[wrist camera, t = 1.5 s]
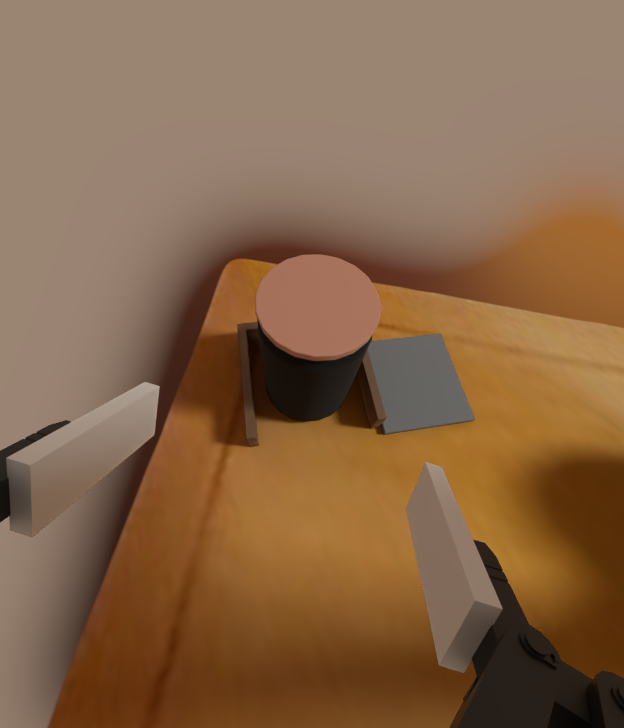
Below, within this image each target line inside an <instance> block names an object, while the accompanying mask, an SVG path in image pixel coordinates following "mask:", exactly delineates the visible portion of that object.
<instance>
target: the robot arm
mask: <svg viewBox="0 0 624 728" xmlns="http://www.w3.org/2000/svg"><path fill="white" fill-rule="evenodd" d="M159 387H160V386H157V385H154V384H150V383H147V382H144V383H142V384H140V385H138V386H136V387H135V388H133V389H131V390H129V391H127V392H125V393H124V394H122V395H120V396H118V397H116V398H114V399H113V400H111V401H109V402H107V403H105V404H104V405H102V406H100V407H98V408H97V409H94V410H93V411H91V412H89V413H87V414H85V415H83V416H82V417H80V418H79V419H76V420H74V421H73V422H70V421H63V422H59V423H56V424H52V425H49V426H47V427H45V428H43V429H41V430H39V431H38V432H37V433H36V434H35V433H34V434H32V435H30V436H28V437H26V439H22V440H20V441H18V442H16V443H14V444H12V445H11V446H9V447H7V448H5V449H3V450H1V451H0V522H1V521H3V520H4V519H5V518H7V517H8V516H10V530H11V531H14V532H18V533H21V534H24V535H27V536H30V537H33V536H34V535H36V534H37V533H38V532H39V531H40V530H42V529H43V528H44V527H45V526H46V525H48V524H49V523H50V522H51V521H52V520H53V519H55V518H56V517H57V516H58V515H59V514H61V513H62V512H63V511H64V510H65V509H66V508H68V507H69V506H70V505H71V504H73V503H74V502H75V501H76V500H77V499H79V498H80V497H81V496H82V495H83V494H84V493H86V492H87V491H88V490H89V489H90V488H92V487H93V486H94V485H95V484H96V483H97V482H99V481H100V480H101V479H102V478H104V476H106V475H107V474H108V473H109V472H111V471H112V470H113V469H114V468H115V467H117V466H118V465H119V464H120V463H121V462H123V461H124V460H125V459H126V458H127V457H128V456H130V455H131V454H132V453H133V452H135V451H136V450H137V449H138V448H139V447H140V446H142V445H143V444H144V443H145V442H146V441H148V440H149V439H150V438H151V437H152V436H153V435H154V433H155V423H156V415H157V405H158V396H159ZM406 511H407V516H408V520H409V525H410V530H411V535H412V540H413V544H414V549H415V554H416V559H417V563H418V568H419V573H420V578H421V583H422V587H423V592H424V597H425V602H426V607H427V611H428V616H429V621H430V626H431V631H432V635H433V640H434V645H435V650H436V654H437V659H438V664H439V666H442V667H445V668H448V669H452V670H455V671H458V672H461V673H465V671H466V670H467V668H468V666H469V665H470V663H471V661H473V664H474V668H475V671H476V675H477V677H476V679H475V681H474V682H473V684H472V685H471V687H470V689H469V690H468V692H467V693H466V695H465V697H464V698H463V700H464V701H463V703H462V705H461V707H460V709H459V711H458V712H457V714H456V716H455V718H454V720H453V722H452V724H451V726H450V728H624V679H623V678H621V677H619V676H617V675H615V674H613V673H611V672H606V671H601V672H600V673H598V674H597V675H596V676H595V678H594V679H593V680H592V679H591V678H589V677H587V676H586V675H584V674H582V673H581V672H579V671H577V670H576V669H574V668H572V667H571V666H569V665H567V664H566V663H564V662H563V661H561V659H560V657H559V654H558V652H557V651H556V649H555V648H554V647H553V645H552V644H551V643H550V641H549V640H548V639H547V638H546V637H545V636H544V635H543V634H542V633H541V632H539V631H538V630H536V629H535V628H533V627H532V626H530V625H529V623H528V621H527V619H526V617H525V615H524V613H523V611H522V609H521V607H520V605H519V603H518V601H517V599H516V597H515V595H514V592H513V590H512V588H511V586H510V584H508V580H507V578H506V576H505V574H504V572H502V568H501V566H500V564H499V562H498V559H497V557H496V556H495V555H494V553H493V552H492V551H491V550H490V549H489V547H488V546H487V545H486V544H485V543H483V542H480V541H476V540H473V538H472V536H471V534H470V531H469V529H468V527H467V524H466V522H465V520H464V517H463V515H462V513H461V511H460V508H459V506H458V504H457V501H456V499H455V497H454V494H453V492H452V490H451V487H450V485H449V483H448V480H447V478H446V476H445V473H444V471H443V469H442V467H441V466H437V465H434V464H430V463H427V462H425V465H424V467H423V469H422V472H421V474H420V477H419V479H418V481H417V484H416V486H415V489H414V491H413V493H412V496H411V498H410V501H409V503H408V505H407V508H406Z"/></svg>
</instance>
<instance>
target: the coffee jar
mask: <svg viewBox="0 0 624 728" xmlns="http://www.w3.org/2000/svg"><path fill="white" fill-rule="evenodd" d="M380 311H381V305H380V300H379V296H378V292H377V290H376V288H375V287H374V285H373V284H372V282H371V281H370V279H369V278H368V276H366V275H365V274H364V273H363V272H362V271H360V270H359V269H358V268H357V267H356V266H354V265H352V264H350V263H348V262H345V261H344V260H342V259H340V258H335V257H331V256H326V255H301V256H298V257H294V258H290V259H287V260H285V261H283V262H282V263H280V264H278V265H276V266H275V267H273V268H271V270H270V271H269V272H268V273H267V274H266V275H265V276H264V278H263V279H262V280H261V281H260V284H259V287H258V290H257V292H256V295H255V313H256V316H257V322H258V335H259V342H260V349H261V356H262V363H263V370H264V377H265V384H266V391H267V393H268V395H269V398H270V400H271V402H272V403H273V405H274V406H275V407H276V408H277V409H278V410H279V411H280V412H281V413H283V414H285V415H286V416H288V417H290V418H292V419H296V420H300V421H317V420H320V419H323V418H325V417H328V416H330V415H332V414H333V413H334V412H335V411H336V410H337V409H338V408H340V406H341V405H342V403H343V401H344V399H345V398H346V396H347V394H348V391H349V389H350V387H351V385H352V382H353V380H354V378H355V376H356V373H357V371H358V369H359V367H360V365H361V362H362V360H363V358H364V356H365V353H366V351H367V349H368V347H369V344H370V342H371V340H372V334H373V332H374V331H375V329H376V327H377V325H378V324H379V318H380Z"/></svg>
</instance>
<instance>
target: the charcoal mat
mask: <svg viewBox="0 0 624 728" xmlns="http://www.w3.org/2000/svg"><path fill="white" fill-rule="evenodd" d="M368 353H369V356H370V360H371V364H372V367H373V371H374V374H375V378H376V382H377V385H378V389H379V392H380V396H381V400H382V403H383V407H384V410H385V414H386V419H385V420H384V422H383V423H382V424H381V426H382V430H383V433H384V435H386V434H393V433H399V432H406V431H412V430H419V429H425V428H432V427H438V426H444V425H451V424H457V423H464V422H470V421H473V420H475V418H474V416H473V413H472V411H471V408H470V406H469V403H468V401H467V398H466V396H465V393H464V391H463V388H462V386H461V383H460V381H459V378H458V376H457V373H456V371H455V368H454V366H453V363H452V361H451V358H450V356H449V353H448V351H447V348H446V346H445V343H444V341H443V338H442V336H441V334H433V335H424V336H416V337H407V338H398V339H389V340H380V341H371V342H370V344H369V347H368Z"/></svg>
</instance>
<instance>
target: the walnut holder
mask: <svg viewBox="0 0 624 728" xmlns="http://www.w3.org/2000/svg"><path fill="white" fill-rule="evenodd" d="M237 327H238V339H239V351H240V364H241V376H242V388H243V401H244V413H245V425H246V437H247V441H248V443H249V445H250V447H254V446H259V445H258V434H257V424H256V414H255V403H254V393H253V383H252V372H251V362H250V351H249V345H258V344H260V342H259V335H258V322H253V323H243V324H237ZM357 377H358V381H359V385H360V389H361V393H362V397H363V401H364V405H365V409H366V413H367V417H368V421H369V425H370V429H373V428H378V427H379V426H380V425H381V424H382V423H383V422H384V420H385V419H386V414H385V410H384V407H383V403H382V400H381V396H380V392H379V389H378V385H377V382H376V378H375V374H374V371H373V367H372V364H371V360H370V356H369V353H368V349H367V351H366V353H365V356H364V358H363V360H362V362H361V365H360V367H359V369H358V371H357Z"/></svg>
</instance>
